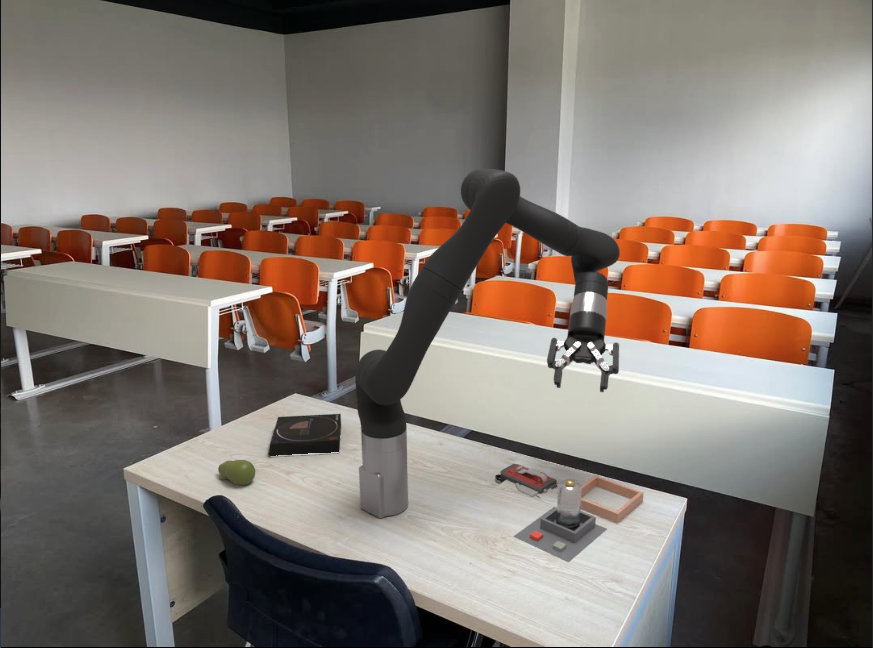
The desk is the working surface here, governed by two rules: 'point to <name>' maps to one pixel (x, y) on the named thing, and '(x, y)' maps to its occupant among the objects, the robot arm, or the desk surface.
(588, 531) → the checker plate
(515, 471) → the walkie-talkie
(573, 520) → the cell
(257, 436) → the desk surface
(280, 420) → the portable cd player
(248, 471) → the pear
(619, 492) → the pot
